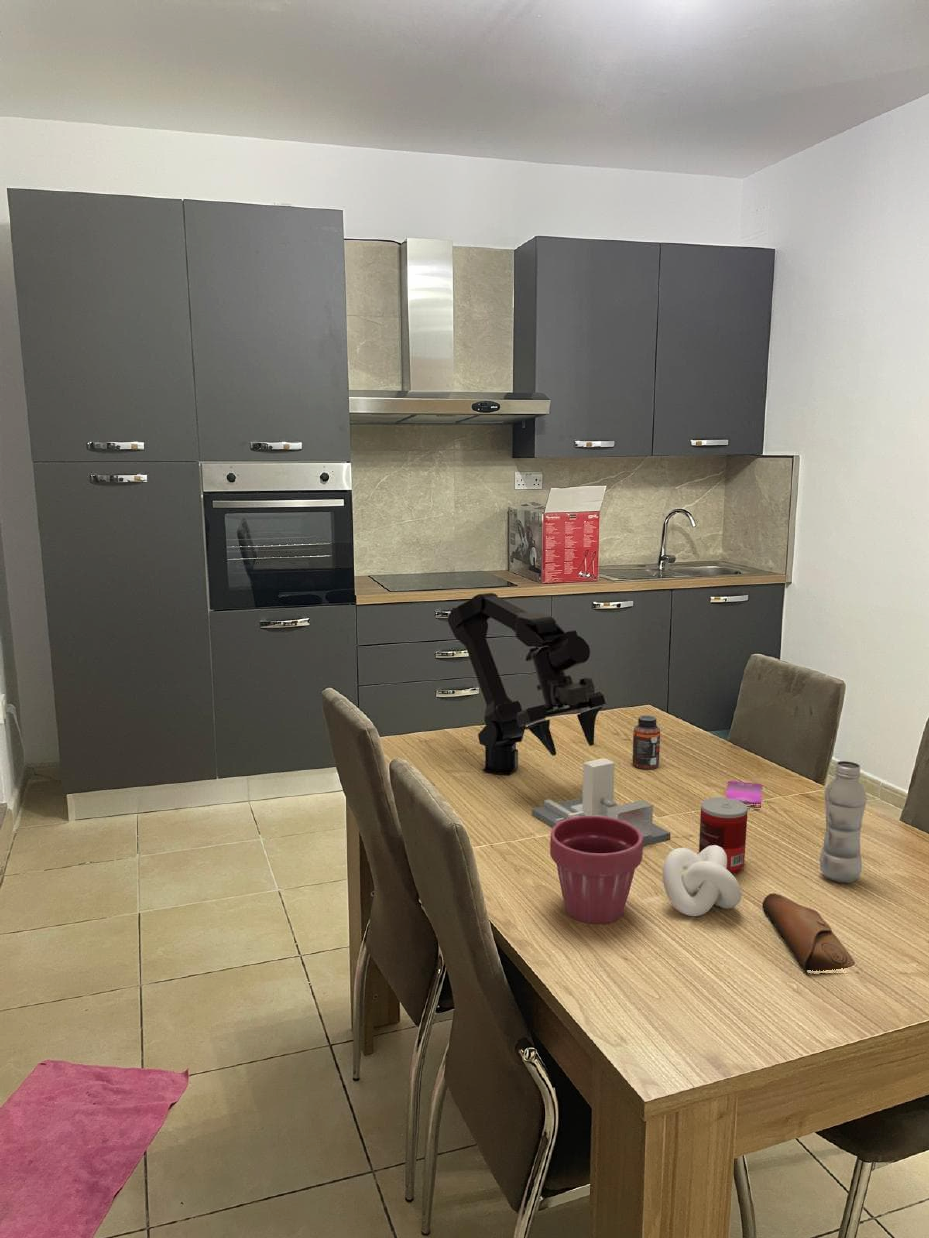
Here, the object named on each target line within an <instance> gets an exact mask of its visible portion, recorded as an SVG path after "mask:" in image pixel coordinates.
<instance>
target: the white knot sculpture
mask: <svg viewBox="0 0 929 1238" xmlns="http://www.w3.org/2000/svg"><path fill="white" fill-rule="evenodd" d="M662 865H663V866H662V883H663V888H664V891H665V894H666V896H667V898H668V900H669V902H670V903H671V905H672V906H673V907H674V908H675V909H676V910H677V911H678V912H680V913H681V914H684V915H686V916H688V917H698V916H699V917H700V916H702V915H705V914H706V913H707V912H709V910H711V908H713V906H714V905H715V906H718V907H719V906H720V907H719V908H722V909H733V908H735V907H737V906H738V905H739V904H740V902H741V899H742V891H741V886H740V884H739V882H738V881H737V879H736V877H735V876H734V874H731V873H730V872H729V871H728V870H727V869H726V867H727V855H726V853H725V851H724V850H723V849H722V848H721V847H719V846H717V845H712V846H708V847H706V848H705V849H703V850H702V851H701V852H700V853H699V852H698V853H696V852H695V851H693V850H691V849H690V848H688V847H677V848H675V849H673V850H671V851H670V852H669V853H668V855H667V856H666V858H665V859H664V862H663V864H662ZM683 869H684V871H683Z"/></svg>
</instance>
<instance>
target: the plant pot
mask: <svg viewBox="0 0 929 1238" xmlns="http://www.w3.org/2000/svg"><path fill="white" fill-rule="evenodd" d="M549 839H550V840H549V841H550V842H549V854H550V857H551V859H552V861H553V862H554V863H555V864H556V868H557V874H558V879H559V884H560V885H559V886H560V891H561V894H562V899H563V905H564V909H565V912H566V913H567V915H569V916H570V917H571V918H573V919H574V920H577V921H579V922H583V923H587V924H593V925H595V924H596V925H599V924H600V925H601V924H602V925H603V924H610V923H612V922H615V921H618V920H619V919H620V918H621V917H622V915H624V912H625V908H626V904H627V900H628V897H629V893H630V891H631V886H632V882H633V879H634V875H635V871H636V869H637V868H639V866H640V864H641V863H642V861H643V852H644V851H643V850H644V849H643V847H644V846H643V837H642V834H641V832H640V831H639V830H638V829H637V828H636V827H634V826H633V825H631V824H629V823H627V822H624V821H621V820H618V819H614V818H610V817H604V816H578V817H573V818H569V819H565V820H563V821H561V822H559V823H557V824H556V825H555V826H554V827H551V831H550V837H549Z"/></svg>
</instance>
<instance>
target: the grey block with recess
mask: <svg viewBox="0 0 929 1238" xmlns="http://www.w3.org/2000/svg"><path fill="white" fill-rule="evenodd" d="M617 805H618V806H614V807H610V808H608V811H607V817H610V818H614V819H618V820H621V821H624V822H627V823H629V824H631V825H633V826H634V827H636V828H637V829H638V830H639V831H640V832H641V834H642V837H643V838H647V837H651V836H652V823H653V818H654V817H653V815H654V813H653V812H654V805H653V804H652V803H650V802H648V801H646V800H644V799H639V800H635V801H632V802H627V803H623V804H617Z"/></svg>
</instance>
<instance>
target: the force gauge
mask: <svg viewBox="0 0 929 1238" xmlns="http://www.w3.org/2000/svg"><path fill="white" fill-rule="evenodd" d="M582 772H583V773H582V774H583V775H582V792H583V804H579V805H575V806H571V807H570V812H572V814H568V816H569V817H574V816H604V817H607V811H608V808H610V807H614V806H615V804H616V803H615V802H614V796H615V795H614V794H615V791H614V790H615V789H614V788H615V762H614V761H612V760H609V759H607V758H605V757H603V758H599V759H593V760H589V761H584V762H583V768H582Z"/></svg>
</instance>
